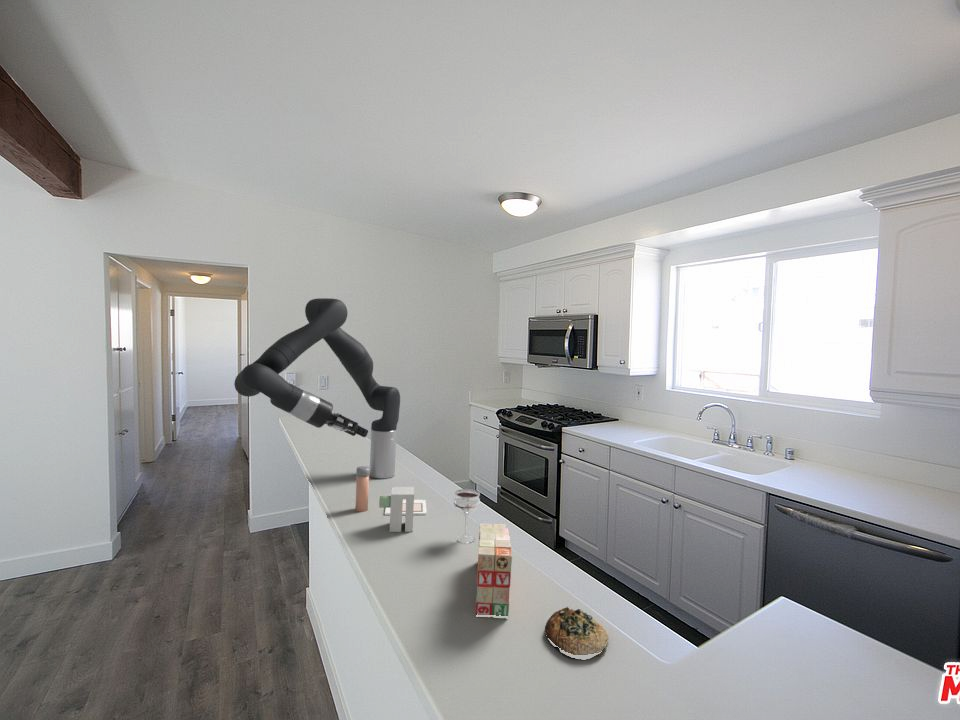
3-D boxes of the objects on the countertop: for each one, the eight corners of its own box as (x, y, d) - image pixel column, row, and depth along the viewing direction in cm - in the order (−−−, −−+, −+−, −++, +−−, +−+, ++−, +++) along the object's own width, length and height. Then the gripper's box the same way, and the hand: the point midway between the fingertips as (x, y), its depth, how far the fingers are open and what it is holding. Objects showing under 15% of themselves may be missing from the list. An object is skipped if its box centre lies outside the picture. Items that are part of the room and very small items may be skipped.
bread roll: (540, 616, 83) (545, 591, 83) (598, 628, 83) (604, 603, 82) (546, 661, 72) (553, 632, 72) (614, 675, 72) (621, 646, 71)
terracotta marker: (355, 507, 133) (357, 466, 132) (368, 507, 133) (370, 466, 133) (354, 512, 129) (355, 469, 129) (367, 511, 130) (369, 470, 129)
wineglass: (475, 546, 111) (477, 499, 110) (448, 542, 112) (451, 496, 112) (480, 535, 117) (482, 490, 117) (455, 532, 119) (457, 487, 118)
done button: (380, 505, 121) (380, 494, 120) (394, 505, 121) (395, 494, 121) (379, 509, 118) (379, 498, 117) (394, 509, 118) (394, 498, 118)
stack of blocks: (477, 561, 103) (480, 509, 103) (504, 563, 103) (507, 511, 103) (475, 618, 82) (478, 553, 82) (508, 620, 82) (512, 555, 81)
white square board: (387, 501, 139) (387, 499, 139) (425, 501, 140) (425, 499, 140) (384, 515, 128) (384, 513, 128) (426, 514, 130) (426, 512, 130)
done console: (390, 522, 123) (392, 487, 122) (412, 522, 124) (414, 487, 123) (389, 532, 117) (391, 494, 116) (412, 531, 118) (414, 494, 117)
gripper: (325, 395, 117) (376, 422, 125) (310, 397, 129) (358, 421, 136) (311, 421, 115) (364, 447, 122) (297, 420, 126) (346, 444, 134)
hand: (361, 433), depth 129 cm, fingers open, 8 cm apart
